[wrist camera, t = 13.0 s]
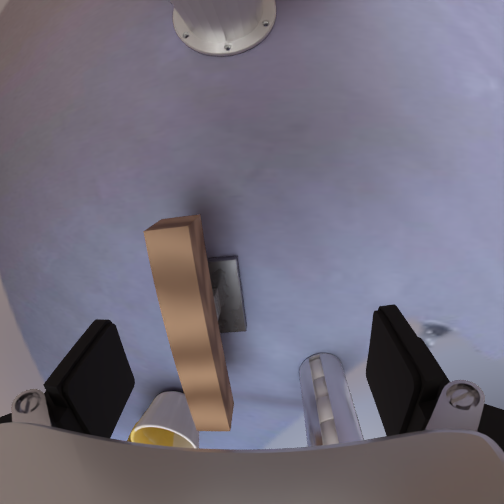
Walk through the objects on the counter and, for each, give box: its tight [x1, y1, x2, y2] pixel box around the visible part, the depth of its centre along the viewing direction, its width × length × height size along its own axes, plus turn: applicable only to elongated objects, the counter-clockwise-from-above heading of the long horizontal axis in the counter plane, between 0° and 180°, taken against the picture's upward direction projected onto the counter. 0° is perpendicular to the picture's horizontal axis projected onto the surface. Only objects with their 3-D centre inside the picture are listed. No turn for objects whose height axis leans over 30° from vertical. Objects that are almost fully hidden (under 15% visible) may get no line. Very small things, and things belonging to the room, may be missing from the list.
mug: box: [127, 391, 199, 449], centre depth 44 cm, size 14×10×10 cm
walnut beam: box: [144, 215, 234, 431], centre depth 32 cm, size 24×4×5 cm, turn 6°
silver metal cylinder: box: [299, 353, 364, 447], centre depth 33 cm, size 6×6×25 cm
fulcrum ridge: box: [207, 256, 247, 333], centre depth 38 cm, size 10×8×8 cm
